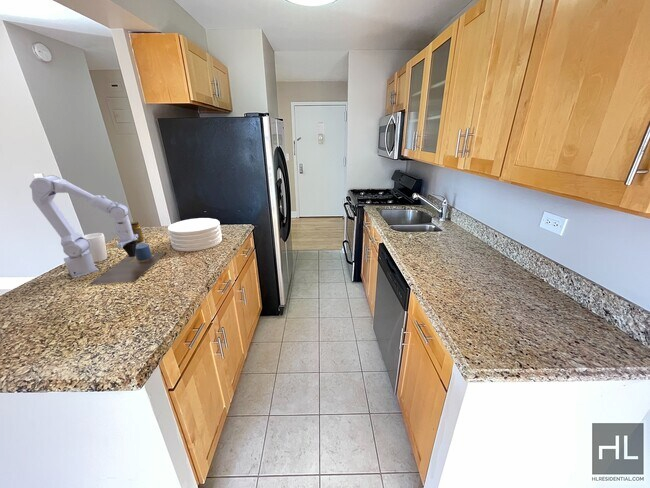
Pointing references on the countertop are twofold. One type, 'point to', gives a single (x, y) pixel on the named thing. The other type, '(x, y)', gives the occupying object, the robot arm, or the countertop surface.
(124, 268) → the board
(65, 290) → the countertop surface
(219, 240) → the plate stack
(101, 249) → the foam cup
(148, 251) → the can
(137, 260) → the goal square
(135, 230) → the condiment
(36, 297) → the countertop surface
